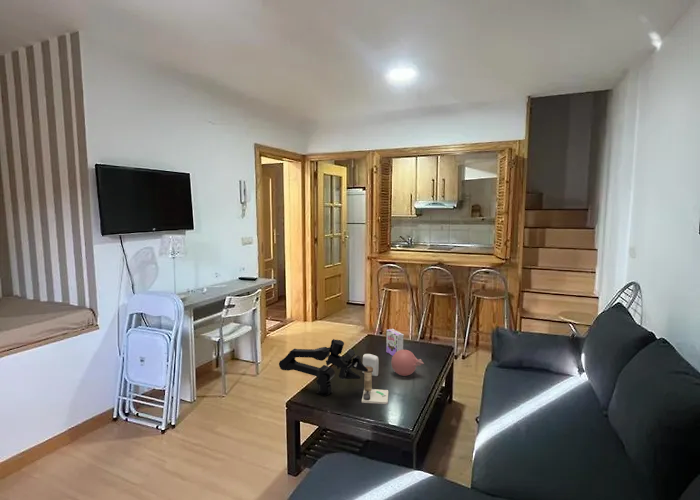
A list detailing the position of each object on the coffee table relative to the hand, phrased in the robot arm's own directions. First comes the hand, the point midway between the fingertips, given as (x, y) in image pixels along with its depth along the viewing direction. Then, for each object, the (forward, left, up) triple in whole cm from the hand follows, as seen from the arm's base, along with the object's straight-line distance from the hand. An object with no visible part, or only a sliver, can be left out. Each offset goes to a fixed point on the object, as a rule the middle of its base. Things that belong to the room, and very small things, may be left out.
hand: (364, 374), depth 206 cm
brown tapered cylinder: (-1, +5, -14) cm, 15 cm away
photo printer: (-17, +31, -15) cm, 39 cm away
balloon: (+2, +43, -15) cm, 46 cm away
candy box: (-22, +68, -15) cm, 73 cm away
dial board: (+2, +8, -15) cm, 17 cm away
